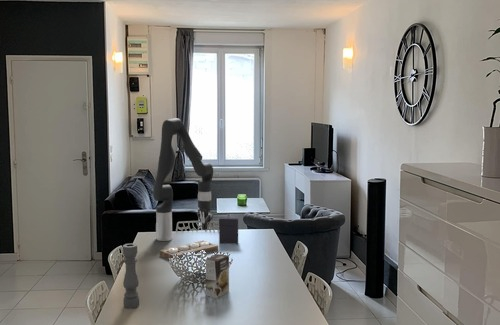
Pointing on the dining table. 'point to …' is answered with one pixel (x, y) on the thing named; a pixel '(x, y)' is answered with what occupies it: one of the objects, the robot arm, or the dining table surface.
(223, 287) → the coffee box
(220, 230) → the dark brown box
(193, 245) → the button three dots
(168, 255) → the brown flat block
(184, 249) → the button blank
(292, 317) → the dining table surface
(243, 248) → the dining table surface
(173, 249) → the button two dots
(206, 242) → the button one dot
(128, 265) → the candle holder
